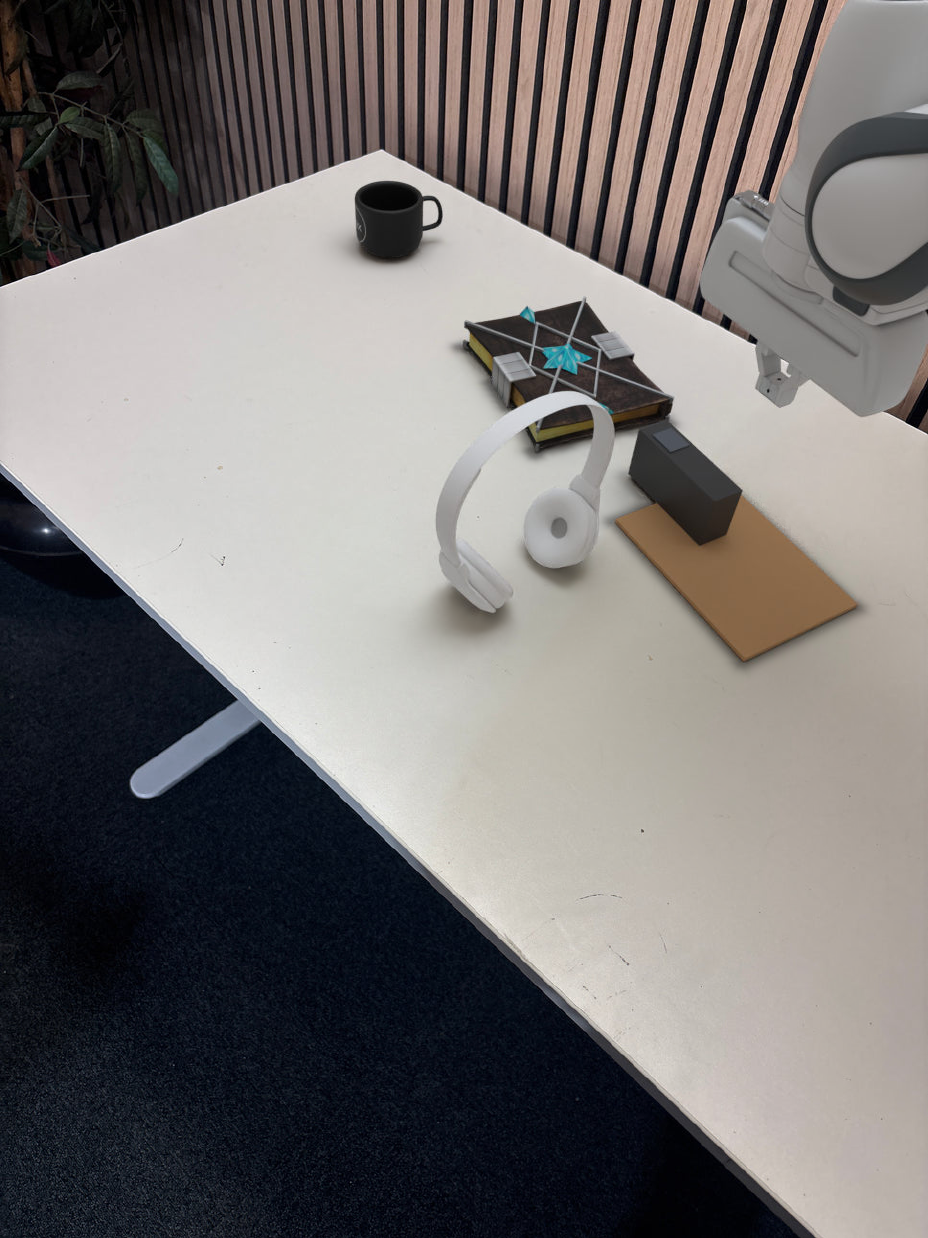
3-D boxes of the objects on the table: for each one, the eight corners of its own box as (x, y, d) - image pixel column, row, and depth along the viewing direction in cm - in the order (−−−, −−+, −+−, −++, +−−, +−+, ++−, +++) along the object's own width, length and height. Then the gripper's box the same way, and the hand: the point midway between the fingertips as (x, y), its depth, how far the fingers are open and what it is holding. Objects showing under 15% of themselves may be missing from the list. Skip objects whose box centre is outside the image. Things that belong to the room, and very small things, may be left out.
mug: (366, 268, 122) (364, 216, 116) (349, 235, 127) (346, 183, 121) (452, 256, 124) (453, 205, 119) (432, 224, 130) (432, 173, 124)
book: (669, 423, 103) (679, 386, 99) (535, 455, 99) (540, 418, 95) (582, 320, 116) (588, 284, 112) (459, 345, 111) (461, 308, 107)
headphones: (610, 559, 89) (651, 390, 74) (464, 647, 82) (475, 478, 66) (561, 517, 93) (591, 347, 77) (416, 598, 85) (416, 427, 70)
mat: (856, 607, 87) (858, 604, 86) (743, 662, 82) (745, 658, 82) (721, 480, 98) (722, 476, 97) (614, 522, 93) (615, 518, 92)
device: (743, 489, 87) (666, 417, 93) (715, 500, 86) (639, 427, 92) (726, 534, 92) (654, 463, 98) (699, 546, 90) (627, 473, 97)
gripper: (703, 187, 71) (667, 343, 82) (901, 317, 60) (830, 478, 70) (765, 172, 73) (722, 325, 84) (967, 295, 62) (888, 454, 72)
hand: (773, 396), depth 77 cm, fingers closed
